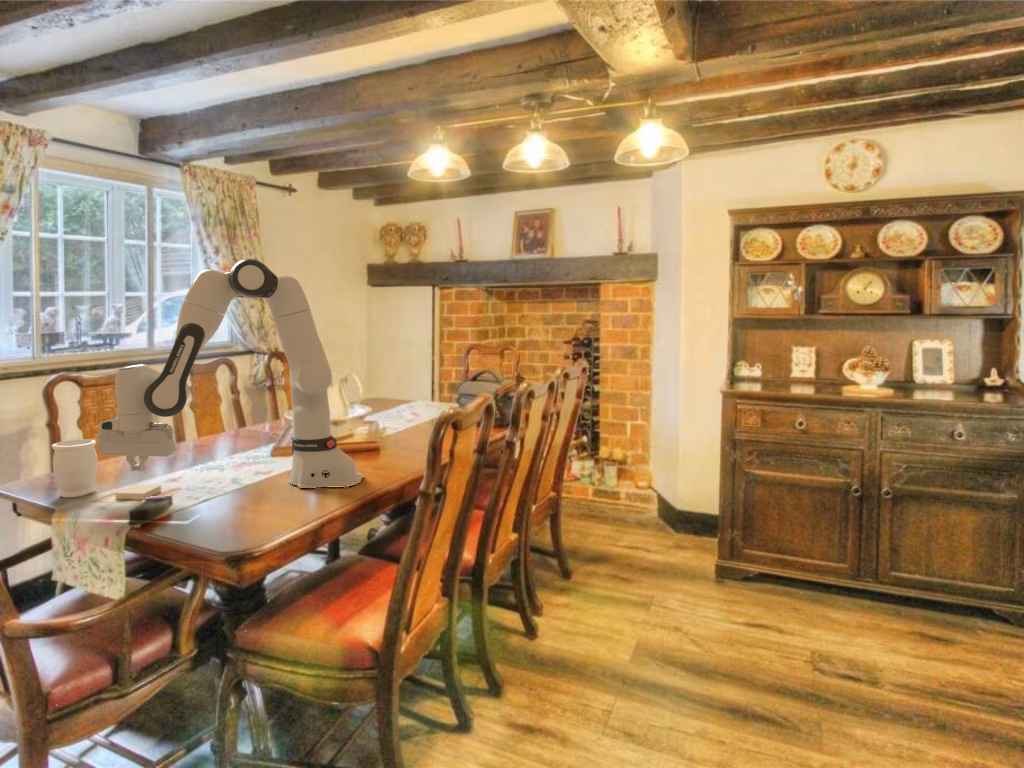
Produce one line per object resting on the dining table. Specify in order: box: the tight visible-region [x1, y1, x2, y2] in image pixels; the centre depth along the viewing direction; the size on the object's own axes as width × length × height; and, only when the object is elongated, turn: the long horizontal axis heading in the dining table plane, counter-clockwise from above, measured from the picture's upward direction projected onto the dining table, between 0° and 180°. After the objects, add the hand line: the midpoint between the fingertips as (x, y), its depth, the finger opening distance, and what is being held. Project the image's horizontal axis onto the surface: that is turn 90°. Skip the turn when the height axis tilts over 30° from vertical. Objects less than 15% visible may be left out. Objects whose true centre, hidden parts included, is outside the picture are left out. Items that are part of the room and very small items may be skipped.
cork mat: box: [90, 487, 183, 504], centre depth 176 cm, size 18×14×1 cm
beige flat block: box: [115, 484, 162, 499], centre depth 176 cm, size 2×8×8 cm
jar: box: [51, 438, 99, 499], centre depth 178 cm, size 11×10×15 cm
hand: (138, 470), depth 175 cm, fingers closed
